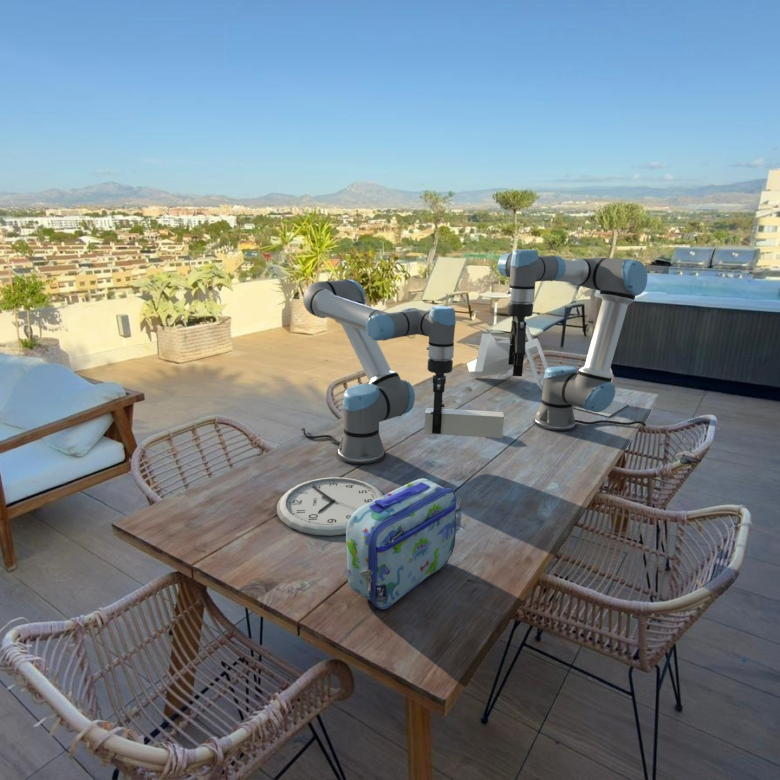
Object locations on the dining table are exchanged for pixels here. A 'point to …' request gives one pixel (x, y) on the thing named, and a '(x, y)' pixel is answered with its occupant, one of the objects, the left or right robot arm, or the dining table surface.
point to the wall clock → (324, 504)
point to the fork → (458, 504)
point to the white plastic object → (503, 356)
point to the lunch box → (400, 540)
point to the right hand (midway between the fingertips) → (514, 370)
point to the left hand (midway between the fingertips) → (436, 429)
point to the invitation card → (608, 409)
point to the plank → (467, 423)
